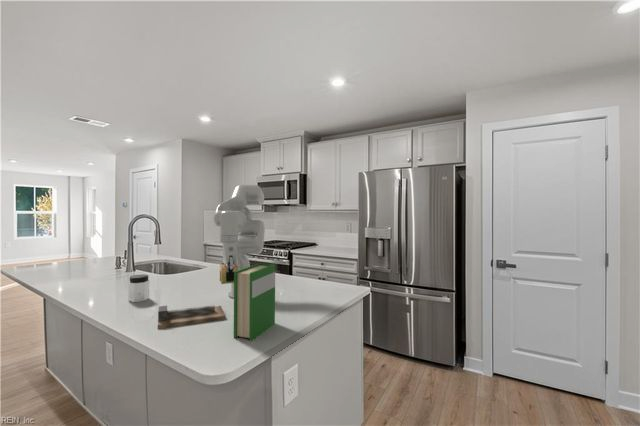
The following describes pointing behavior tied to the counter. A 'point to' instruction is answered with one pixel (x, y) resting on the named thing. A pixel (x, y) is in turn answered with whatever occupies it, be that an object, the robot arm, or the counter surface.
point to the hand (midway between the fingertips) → (228, 279)
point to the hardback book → (254, 300)
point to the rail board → (188, 316)
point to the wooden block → (223, 273)
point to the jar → (138, 288)
